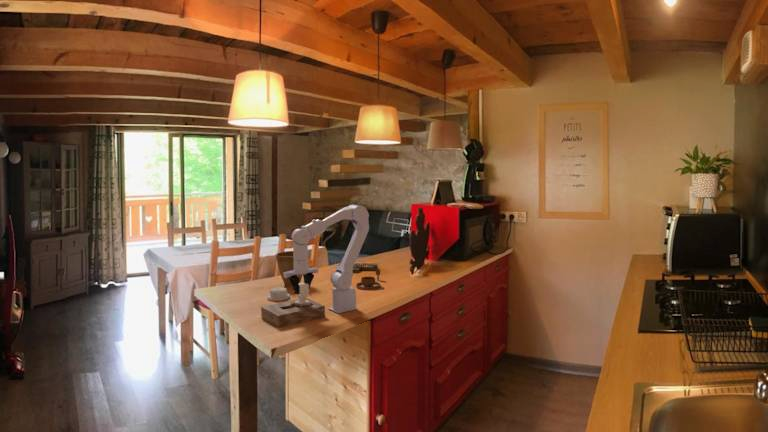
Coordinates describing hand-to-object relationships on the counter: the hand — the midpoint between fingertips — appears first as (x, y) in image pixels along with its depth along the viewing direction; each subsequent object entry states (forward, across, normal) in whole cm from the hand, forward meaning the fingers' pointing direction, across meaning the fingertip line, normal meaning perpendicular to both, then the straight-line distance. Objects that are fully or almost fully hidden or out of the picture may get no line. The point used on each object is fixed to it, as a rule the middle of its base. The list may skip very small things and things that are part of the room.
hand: (301, 292), depth 191 cm
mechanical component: (+10, -4, -29) cm, 31 cm away
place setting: (+10, -51, -20) cm, 56 cm away
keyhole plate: (+9, +4, 0) cm, 10 cm away
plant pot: (+9, -20, -48) cm, 53 cm away
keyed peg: (+5, 0, 0) cm, 5 cm away
